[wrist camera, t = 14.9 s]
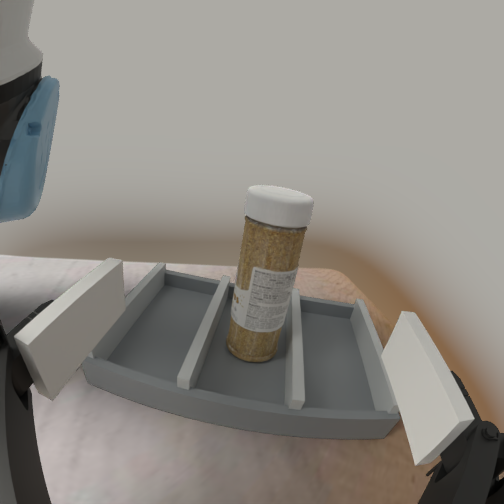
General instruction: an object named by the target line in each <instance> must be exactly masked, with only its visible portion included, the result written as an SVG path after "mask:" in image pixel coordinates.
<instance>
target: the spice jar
mask: <svg viewBox="0 0 504 504" xmlns="http://www.w3.org/2000/svg"><path fill="white" fill-rule="evenodd" d="M313 204H314V201H313V199H312V197H310V196H309V195H307V194H305V193H302V192H299V191H296V190H293V189H288V188H284V187H278V186H270V185H254V186H251V187H249V188H248V190H247V196H246V202H245V208H244V212H245V214H246V216H245V220H246V222H245V227H244V233H243V240H242V247H241V252H240V259H239V263H238V267H237V274H236V280H235V287H234V294H233V300H232V307H231V320H230V328H229V333H228V335H227V338H226V345H227V347H228V349H229V351H230V352H231V353H232V354H233V355H234V356H235V357H237V358H239V359H241V360H244V361H248V362H263V361H267V360H269V359H271V358H272V357H273V356H274V355H275V354H276V352H277V349H278V339H279V336H280V332H281V328H282V325H283V324H284V321H285V317H286V313H287V309H288V306H289V302H290V298H291V294H292V290H293V286H294V282H295V278H296V274H297V270H298V261H299V258H300V252H301V248H302V244H303V239H304V234H305V232H306V230H307V225H309V223H310V220H311V215H312V210H313Z"/></svg>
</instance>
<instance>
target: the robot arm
mask: <svg viewBox="0 0 504 504" xmlns="http://www.w3.org/2000/svg"><path fill="white" fill-rule="evenodd" d="M33 3H34V0H0V223H2V222H7V221H13V220H20V219H24V218H26V217H28V216H30V215H31V214H32V213H33V212H34V211H35V210H36V208H37V206H38V204H39V202H40V199H41V195H42V191H43V187H44V183H45V177H46V172H47V166H48V161H49V155H50V149H51V143H52V138H53V132H54V126H55V120H56V114H57V107H58V101H59V87H60V86H59V81H58V80H57V79H55V78H51V77H50V76H45V77H44V78H42V77H41V67H42V57H43V53H42V52H41V51H40V50H39V49H38V48H37V47H36V46H35V45H34V44H33V43H32V42H31V41H30V40H29V37H28V29H29V23H30V18H31V13H32V7H33ZM125 310H126V307H125V295H124V280H123V261H122V260H118V259H113V258H108V259H107V260H105V261H104V262H103V263H101V264H100V265H99V266H97V267H96V268H95V269H93V270H92V271H91V272H90V273H88V274H87V275H86V276H84V277H83V278H82V279H81V280H79V281H78V282H77V283H76V284H74V285H73V286H72V287H71V288H69V289H68V290H67V291H66V292H64V293H63V294H62V295H61V296H60V297H58V298H57V299H56V300H55V301H54V300H51V301H48V302H46V303H44V304H42V305H41V306H39V307H38V308H37V309H36V310H35V311H34V313H33V312H32V313H31V314H30V315H29V316H28V318H25V319H24V320H23V321H22V322H21V323H19V324H18V325H17V326H16V327H15V328H14V329H13V330H12V331H11V332H9V333H8V334H7V335H6V334H5V331H4V329H3V326H2V323H1V320H0V504H51V501H50V498H49V494H48V491H47V487H46V483H45V479H44V475H43V471H42V466H41V462H40V457H39V451H38V446H37V439H36V433H35V425H34V416H33V406H32V393H31V390H30V388H29V387H30V386H31V385H32V383H34V385H35V387H36V389H37V391H38V393H40V394H42V395H43V396H45V397H47V398H48V399H50V400H52V401H53V400H54V399H55V398H56V396H57V395H58V393H59V392H60V391H61V389H62V388H63V387H64V386H65V384H66V383H67V382H68V380H69V379H70V378H71V376H72V375H73V374H74V372H75V371H76V370H77V369H78V367H79V366H80V365H81V364H82V362H83V361H84V360H85V358H86V357H87V356H88V355H89V353H90V352H91V351H92V350H93V349H94V347H95V346H96V345H97V344H98V342H99V341H100V340H101V339H102V337H103V336H104V335H105V334H106V333H107V331H108V330H109V329H110V328H111V327H112V325H113V324H114V323H115V322H116V321H117V320H118V318H119V317H120V316H121V315H122V314H123V312H124V311H125ZM381 358H382V360H383V363H384V366H385V369H386V371H387V374H388V377H389V380H390V383H391V386H392V389H393V392H394V395H395V398H396V401H397V404H398V407H399V410H400V414H401V417H402V420H403V423H404V427H405V430H406V434H407V437H408V441H409V444H410V448H411V452H412V455H413V459H414V463H415V466H417V465H422V464H427V463H431V462H432V461H433V460H434V459H436V458H437V457H438V456H439V455H440V456H441V459H442V461H440V462H439V463H438V464H437V465H436V466H435V467H433V468H432V469H431V470H430V471H429V472H428V473H427V474H426V476H429V475H430V474H431V473H432V472H434V473H433V475H432V477H431V479H430V481H429V483H428V485H427V487H426V489H425V491H424V493H423V495H422V497H421V499H420V501H419V502H418V504H504V477H503V478H502V479H501V480H499V475H500V474H501V473H502V472H503V471H504V433H500V432H499V430H498V428H497V427H496V426H495V425H494V424H493V423H491V422H488V421H482V420H481V418H480V416H479V414H478V412H477V410H476V408H475V406H474V404H473V402H472V400H471V398H470V396H468V395H469V394H468V392H467V391H466V389H465V387H464V385H463V383H462V382H461V379H460V378H459V377H458V376H457V375H456V374H455V373H454V372H453V371H450V370H449V368H448V366H447V365H446V363H445V362H444V359H443V358H442V356H441V354H440V352H439V351H438V349H437V347H436V346H435V344H434V342H433V341H432V339H431V337H430V336H429V334H428V332H427V331H426V329H425V328H424V326H423V325H422V323H421V321H420V320H419V318H418V317H417V315H416V314H415V313H414V312H406V311H402V312H401V314H400V317H399V319H398V321H397V323H396V326H395V328H394V330H393V332H392V334H391V336H390V338H389V340H388V342H387V344H386V346H385V348H384V350H383V352H382V354H381Z"/></svg>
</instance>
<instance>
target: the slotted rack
mask: <svg viewBox="0 0 504 504" xmlns="http://www.w3.org/2000/svg"><path fill="white" fill-rule="evenodd" d="M234 287H235V284H234V283H230V276H225V275H223V277H222V279H221V281H219V280H214V279H209V278H204V277H199V276H194V275H189V274H184V273H179V272H175V271H170V270H166V264H165V263H160V262H159V263H158V264H157V265H156V266H155V267H154V268H153V269H152V270H151V271H150V272H149V273H148V274H147V275H146V276H145V277H144V278H143V279H142V280H141V281H140V282H139V283H138V285H137V286H136V287H135V288H134V289H133V290H132V291H131V292H130V293H129V294H128V295H127V296H126V297H125V307H126V310H125V311H124V312H123V314H122V315H121V316H120V317H119V318H118V320H117V321H116V322H115V323H114V324H113V325H112V327H111V328H110V329H109V330H108V331H107V333H106V334H105V335H104V336H103V337H102V339H101V340H100V341H99V342H98V344H97V345H96V346H95V347H94V349H93V350H92V351H91V352H90V353H89V355H88V356H87V357H86V358H85V360H84V361H83V362H82V367H83V370H84V373H85V376H86V379H87V382H88V383H89V384H91V385H94V386H96V387H98V388H101V389H103V390H106V391H108V392H111V393H113V394H116V395H118V396H121V397H124V398H126V399H129V400H132V401H135V402H137V403H140V404H143V405H146V406H149V407H152V408H156V409H159V410H162V411H165V412H169V413H172V414H176V415H179V416H183V417H187V418H191V419H195V420H199V421H203V422H207V423H212V424H216V425H221V426H226V427H231V428H236V429H242V430H248V431H254V432H261V433H268V434H275V435H284V436H294V437H306V438H321V439H384V438H385V437H386V435H387V434H388V433H389V432H390V431H391V429H392V428H393V427H394V426H395V425H396V423H397V422H398V421H399V420H400V416H399V413H398V412H399V411H400V410H399V407H398V404H397V401H396V398H395V395H394V392H393V389H392V386H391V383H390V380H389V377H388V374H387V371H386V369H385V366H384V363H383V360H382V358H381V354H382V352H383V350H384V349H383V347H382V344H381V342H380V339H379V337H378V334H377V332H376V329H375V327H374V324H373V322H372V320H371V317H370V315H369V313H368V310H367V308H366V306H365V303H364V301H363V300H362V299H356V301H355V304H349V303H343V302H336V301H330V300H324V299H318V298H312V297H306V296H300V295H299V289H295V288H293V290H292V294H291V298H290V302H289V306H288V309H287V313H286V317H285V321H284V324H283V325H282V328H281V332H280V336H279V339H278V349H277V352H276V354H275V355H274V356H273V357H272V358H271V359H269V360H267V361H263V362H248V361H244V360H241V359H239V358H237V357H235V356H234V355H233V354H232V353H231V352H230V351H229V349H228V347H227V345H226V338H227V335H228V333H229V328H230V320H231V307H232V300H233V294H234Z"/></svg>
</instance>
